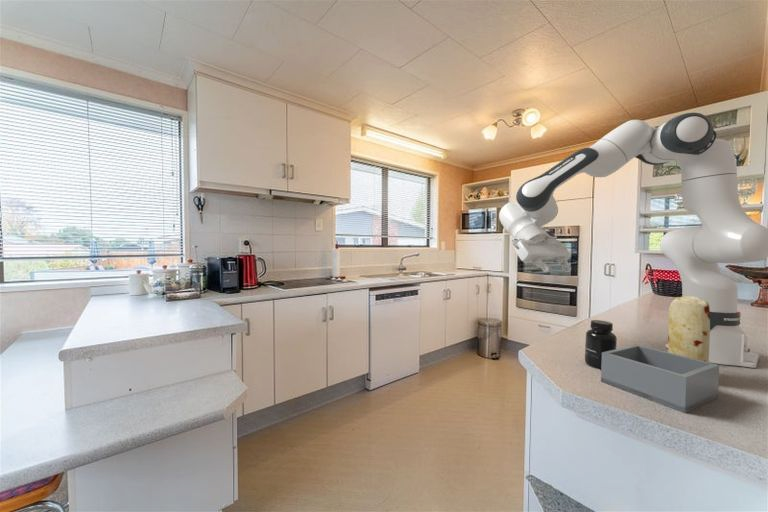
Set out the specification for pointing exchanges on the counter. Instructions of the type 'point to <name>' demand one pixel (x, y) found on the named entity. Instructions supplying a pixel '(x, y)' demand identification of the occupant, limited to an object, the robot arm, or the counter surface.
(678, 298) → the food model
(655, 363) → the bin
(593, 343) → the supplement bottle
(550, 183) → the robot arm
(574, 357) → the counter surface
